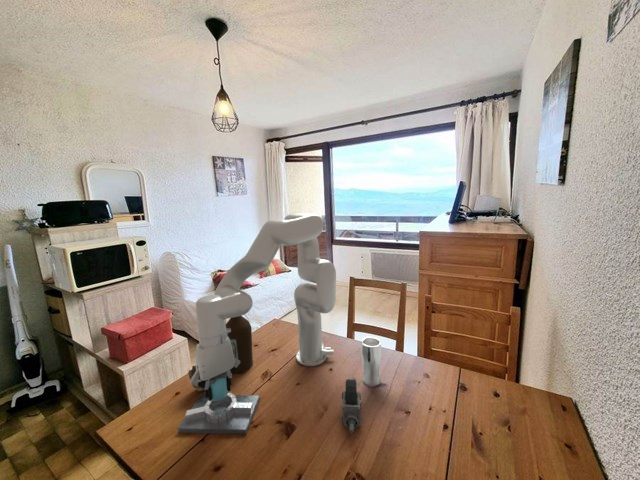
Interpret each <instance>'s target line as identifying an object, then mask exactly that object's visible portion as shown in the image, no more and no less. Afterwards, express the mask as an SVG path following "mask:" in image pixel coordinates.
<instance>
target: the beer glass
mask: <svg viewBox="0 0 640 480" xmlns="http://www.w3.org/2000/svg"><path fill="white" fill-rule="evenodd" d="M360 347H361V349H360V351H361V355H360V356H361V361H362V365H363V377H362V381H363V383H364V384H365V385H366V386H369V387H377V386H379V385H380V384H381V378H380V370H381V369H380V368H381V362H382V344H381V340H380V339H379V338H377V337H374V336H366V337H364V338H362V340H361V346H360Z"/></svg>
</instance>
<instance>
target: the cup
mask: <svg viewBox="0 0 640 480" xmlns="http://www.w3.org/2000/svg"><path fill="white" fill-rule="evenodd" d="M191 368H192V369H188V373H187V374H188V377H189V381H190V380H191V378H192V377H193V375H194V373H195V371H196V364H195V365H192V367H191ZM198 380H201V379H200V376H199V378H198ZM191 386H192V387H193V388H194V389H196V391H197V392H200V393H201V392H202V393H203V392H204V388H201V387H199V386H195V385H191Z"/></svg>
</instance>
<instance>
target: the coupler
mask: <svg viewBox="0 0 640 480" xmlns="http://www.w3.org/2000/svg"><path fill="white" fill-rule="evenodd" d="M227 376H228V375H227V373H225V372H224V373H222V374H219V375H217V376H215V377H213V378H211V379H210V384H209V386H210V387H211V392H212V400H213V401H219V400H221V399H223V398H225V397H226V395H227V393H229V391H228V390H227V381H226V377H227Z"/></svg>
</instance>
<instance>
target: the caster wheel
mask: <svg viewBox="0 0 640 480" xmlns="http://www.w3.org/2000/svg"><path fill="white" fill-rule="evenodd" d="M341 399H342V406H341V408H342V417H341V418H342V424H343V426H344V427H347V428H348V429H349V433H350V434H354V432H355V429H357V428H359V427H360V426H361V424H362V423H361V421H362V417H361V409H362V408H361V400H362V397H361V392H360V391H357V380H356V379H351V378H350V379H349V378H348V379H346V380H345V391H344V390H343V391H342V392H341Z"/></svg>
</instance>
